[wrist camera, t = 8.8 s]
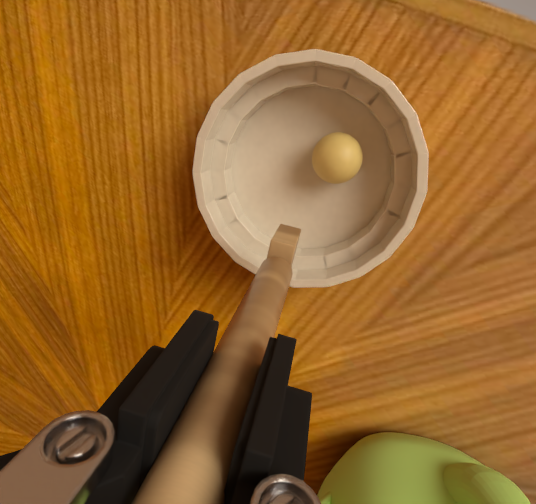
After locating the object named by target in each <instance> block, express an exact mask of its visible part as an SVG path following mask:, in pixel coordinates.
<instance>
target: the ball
mask: <svg viewBox="0 0 536 504" xmlns="http://www.w3.org/2000/svg"><path fill="white" fill-rule="evenodd" d="M362 159H363V154H362V149H361V147H360V144H359V143H358V141H357V140H356V139H355V138H354V137H352V136H351V135H349V134H346V133H342V132H335V133H331V134H328V135H326V136H324V137H323V138H322V139H321V140H319V142H318V143H317V144H316V146H315V148H314V150H313V154H312V165H313V168H314V170H315V172H316V174H317V175H318V176H319V177H320V178H321V179H322V180H324V181H326V182H328V183H333V184H340V183H344V182H347V181H349V180H350V179H352V178H353V177H354V176H355V175H356V174H357V173H358V171H359V169H360V167H361V164H362Z"/></svg>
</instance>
